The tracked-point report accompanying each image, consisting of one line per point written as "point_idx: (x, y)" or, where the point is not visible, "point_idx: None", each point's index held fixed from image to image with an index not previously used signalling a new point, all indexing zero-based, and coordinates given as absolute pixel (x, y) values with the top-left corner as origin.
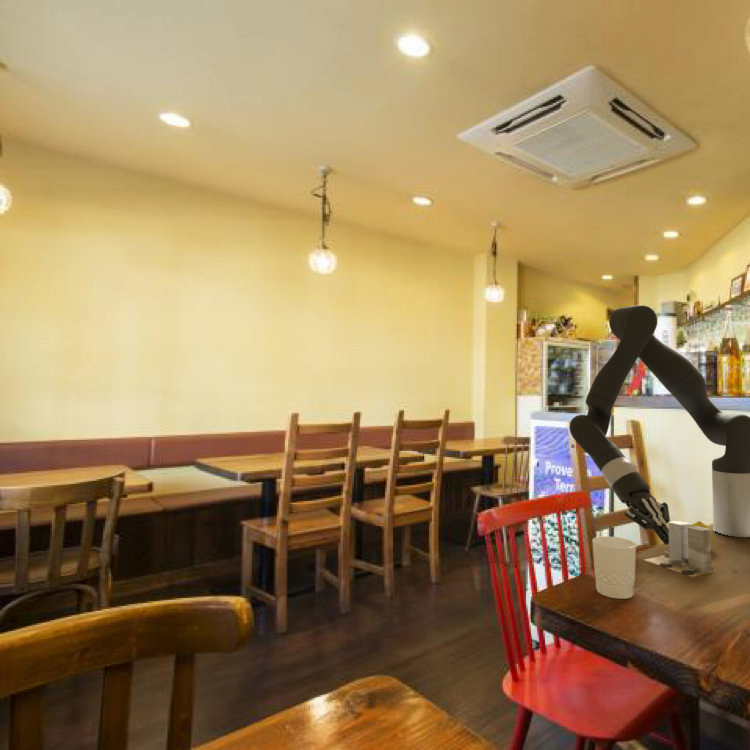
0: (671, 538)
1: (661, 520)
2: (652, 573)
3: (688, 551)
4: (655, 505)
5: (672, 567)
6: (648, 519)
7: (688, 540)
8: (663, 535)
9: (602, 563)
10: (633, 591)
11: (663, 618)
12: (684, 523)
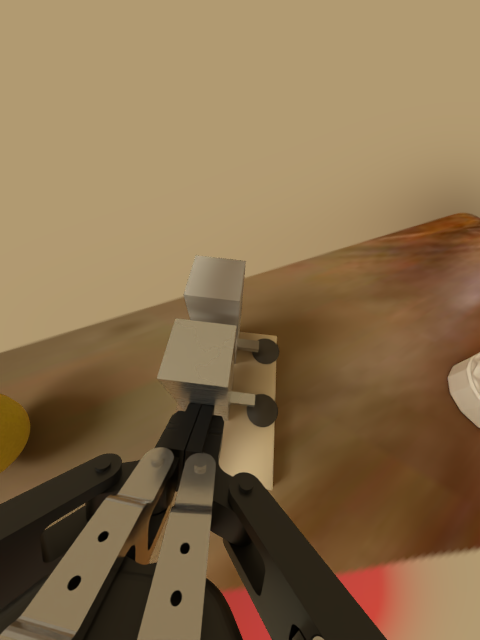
0: (229, 393)
1: (162, 472)
2: (307, 424)
3: (236, 344)
4: (49, 601)
5: (259, 392)
6: (262, 507)
7: (237, 327)
8: (222, 432)
9: None
10: (460, 362)
11: (455, 295)
12: (191, 332)
